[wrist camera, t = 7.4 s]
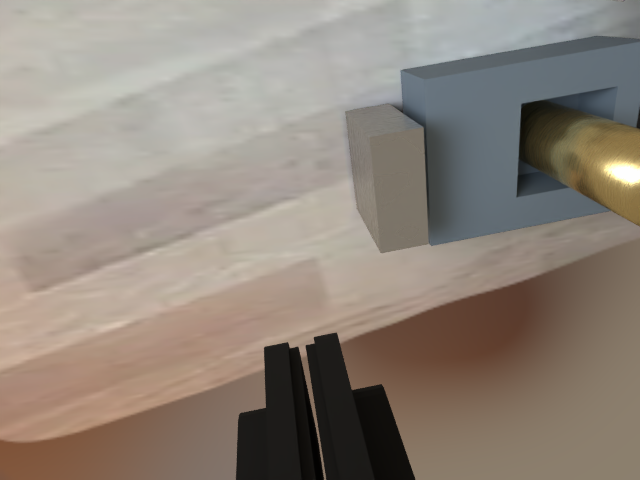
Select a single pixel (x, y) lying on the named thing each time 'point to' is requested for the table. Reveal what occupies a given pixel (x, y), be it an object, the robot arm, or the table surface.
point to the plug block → (389, 176)
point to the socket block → (510, 130)
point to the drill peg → (584, 154)
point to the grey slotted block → (639, 123)
